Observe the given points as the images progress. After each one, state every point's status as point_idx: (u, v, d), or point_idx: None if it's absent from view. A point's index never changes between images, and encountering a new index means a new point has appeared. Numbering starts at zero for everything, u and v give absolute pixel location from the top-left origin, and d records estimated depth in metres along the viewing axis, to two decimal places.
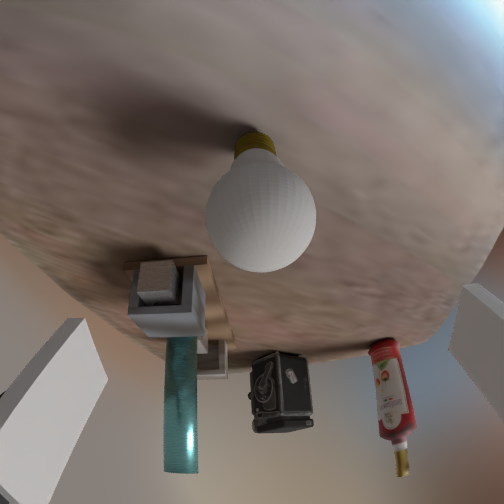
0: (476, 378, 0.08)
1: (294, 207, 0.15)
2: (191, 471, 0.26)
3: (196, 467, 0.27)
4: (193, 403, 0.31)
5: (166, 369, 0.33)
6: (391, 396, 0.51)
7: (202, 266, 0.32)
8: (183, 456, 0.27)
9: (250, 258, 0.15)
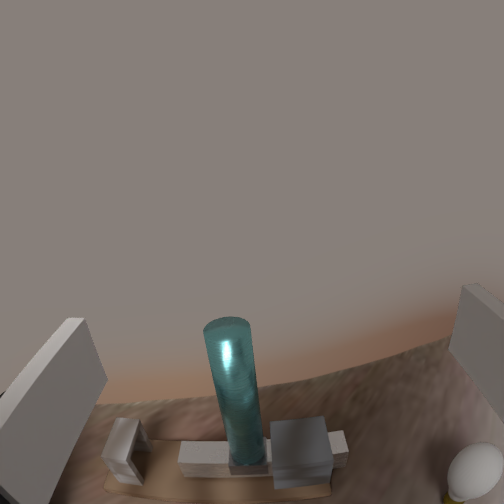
0: (476, 378, 0.08)
1: (503, 465, 0.17)
2: (241, 340, 0.23)
3: (230, 348, 0.23)
4: (246, 412, 0.25)
5: None
6: None
7: (327, 488, 0.27)
8: (250, 352, 0.24)
9: (487, 448, 0.18)
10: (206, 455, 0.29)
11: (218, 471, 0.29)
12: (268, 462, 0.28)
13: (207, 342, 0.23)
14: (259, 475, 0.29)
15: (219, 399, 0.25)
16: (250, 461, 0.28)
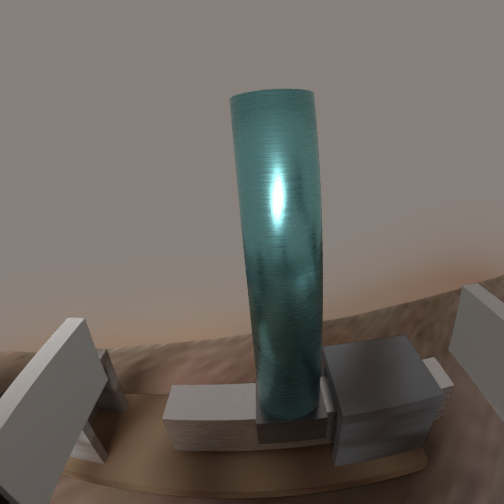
0: (476, 378, 0.08)
1: None
2: (302, 95, 0.11)
3: (284, 104, 0.11)
4: (304, 280, 0.14)
5: None
6: None
7: (421, 457, 0.15)
8: (316, 135, 0.13)
9: None
10: (215, 407, 0.17)
11: (235, 436, 0.17)
12: (328, 413, 0.16)
13: (237, 106, 0.12)
14: (307, 443, 0.17)
15: (250, 253, 0.14)
16: (297, 412, 0.16)
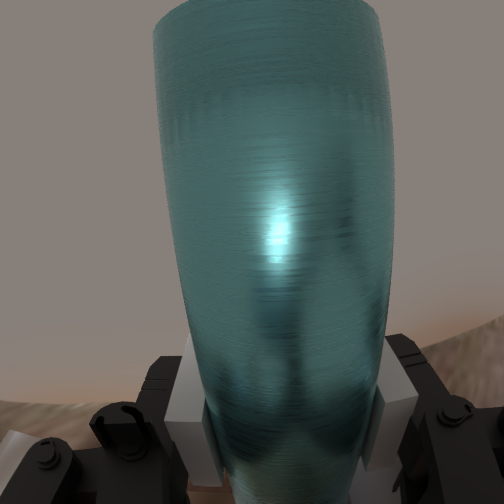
0: None
1: None
2: (362, 13, 0.03)
3: (308, 26, 0.03)
4: (333, 467, 0.05)
5: None
6: None
7: None
8: (392, 134, 0.04)
9: None
10: None
11: None
12: None
13: (163, 48, 0.03)
14: None
15: (217, 420, 0.05)
16: None
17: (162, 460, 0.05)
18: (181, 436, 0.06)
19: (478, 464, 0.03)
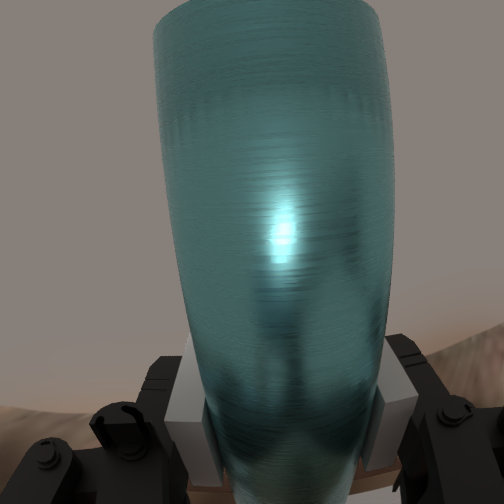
0: None
1: None
2: (362, 13, 0.03)
3: (308, 27, 0.03)
4: (333, 467, 0.05)
5: None
6: None
7: None
8: None
9: None
10: None
11: None
12: None
13: (163, 48, 0.03)
14: None
15: (218, 420, 0.05)
16: None
17: (162, 460, 0.05)
18: (181, 436, 0.06)
19: (478, 465, 0.03)
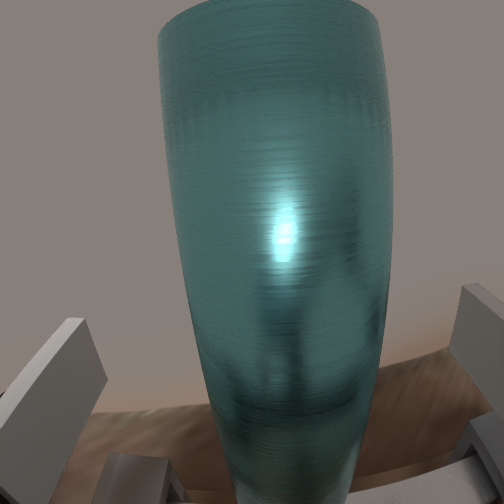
0: (476, 378, 0.08)
1: None
2: (362, 19, 0.03)
3: (310, 33, 0.03)
4: (333, 462, 0.05)
5: None
6: None
7: None
8: (391, 137, 0.04)
9: None
10: None
11: None
12: None
13: (168, 52, 0.04)
14: None
15: (220, 416, 0.06)
16: None
17: None
18: None
19: None
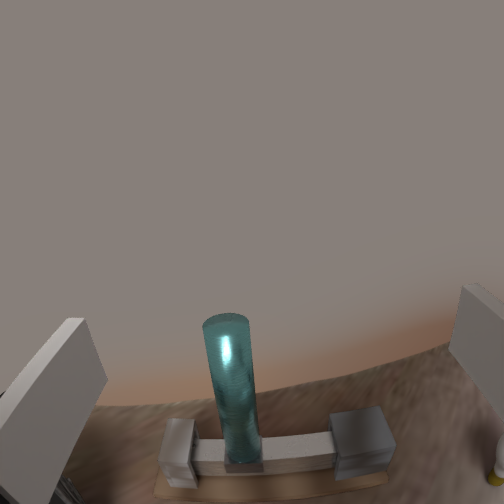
0: (476, 378, 0.08)
1: None
2: (239, 335, 0.23)
3: (229, 343, 0.23)
4: (243, 408, 0.25)
5: None
6: None
7: (385, 476, 0.27)
8: (248, 348, 0.24)
9: None
10: (202, 453, 0.29)
11: (213, 468, 0.29)
12: (264, 460, 0.28)
13: (206, 337, 0.24)
14: (254, 474, 0.29)
15: (216, 395, 0.26)
16: (246, 459, 0.28)
17: None
18: None
19: None
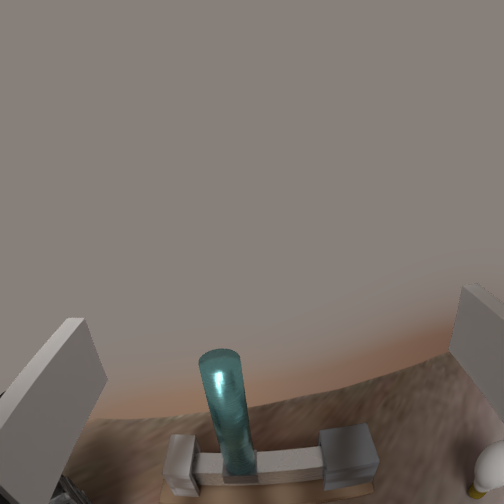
0: (476, 378, 0.08)
1: None
2: (231, 372, 0.25)
3: (222, 379, 0.25)
4: (237, 430, 0.28)
5: None
6: None
7: (370, 487, 0.29)
8: (240, 381, 0.26)
9: None
10: (202, 466, 0.31)
11: (213, 479, 0.31)
12: (258, 473, 0.30)
13: (202, 373, 0.26)
14: (250, 484, 0.31)
15: (213, 419, 0.28)
16: (241, 472, 0.30)
17: None
18: None
19: None
